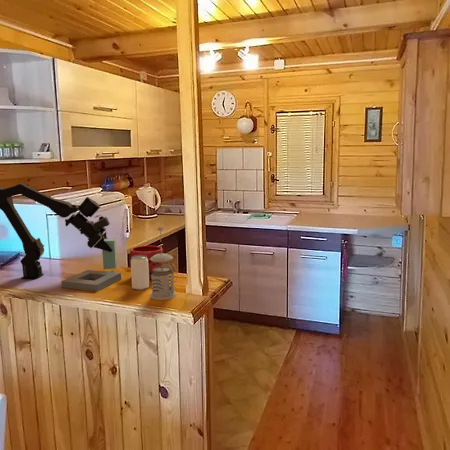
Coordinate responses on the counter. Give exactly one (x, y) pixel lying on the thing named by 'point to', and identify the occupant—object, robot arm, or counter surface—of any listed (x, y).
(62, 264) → the counter surface
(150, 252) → the plant pot
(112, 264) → the plug block
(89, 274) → the socket plate
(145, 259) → the can
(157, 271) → the french press
